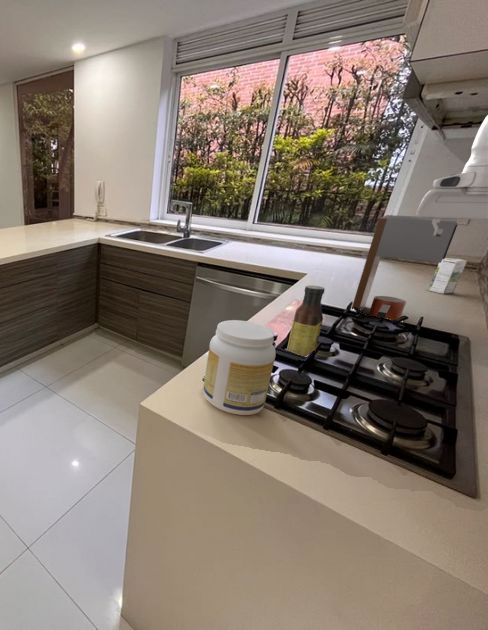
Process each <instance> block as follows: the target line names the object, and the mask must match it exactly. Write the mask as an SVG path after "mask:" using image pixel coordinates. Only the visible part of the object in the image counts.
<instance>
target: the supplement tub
mask: <svg viewBox="0 0 488 630" xmlns="http://www.w3.org/2000/svg"><path fill="white" fill-rule="evenodd" d="M274 338H275V332H274V330H272V329H271V328H270V327H268V326H265V325H264V324H260V323H257V322H253V321H249V320H248V321H247V320H241V319H239V320H238V319H230V320H229V319H228V320H224V321H220V322H219V323H218V324H217V327H216V330H215V335H214V336H212V338H211V339H210V342H209V347H208V354H207V361H206V367H205V375H204V381H203V388H202V389H203V395H204V397H205V399H206V400H207V402H209V403H210V404H211V405H212V406H213V407H215V408H217V409H219V410H221V411H223V412H225V413H229V414H233V415H239V416H250V415H255V414H257V413H259V412H261V411H262V410H263V409H264V406H265V404H266V399H267V395H268V391H269V387H270V382H271V377H272V373H273V368H274V365H275V360H276V357H277V356H276V353H277V352H276V348H275V346H274V345H273V344H274V342H275V339H274Z"/></svg>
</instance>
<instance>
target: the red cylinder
mask: <svg viewBox="0 0 488 630" xmlns="http://www.w3.org/2000/svg"><path fill="white" fill-rule="evenodd" d="M406 305H407V301H406V300H404V299H401V298H398V297H395V296H388V295H376V296H373V299H372V302H371V306H370V309H369V311H368V316H369V315H372V316H377V317H378V318H380V317H383V318H384V319H385V318H388V319H391V320H396V319H398V318H400V317H401V318H402V316H403V313H404V310H405V307H406ZM401 318H400V319H401Z"/></svg>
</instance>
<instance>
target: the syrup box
mask: <svg viewBox="0 0 488 630" xmlns="http://www.w3.org/2000/svg"><path fill="white" fill-rule="evenodd" d="M467 263H468V260H466V259H461V258H458V257H457V258H456V257H445V259H442V262H441V263H438V265H437V267H436V269H435V272H434V274H433V277H432V279H431V282H430V284H429V286H428V288H427V290H428V291H429V292H433V293H438V294H442V295H445V294H446V295H448V294H453V293H454V291H455V290H456V287H457V285H458V283H459V280H460V279H461V277H462V274H463V271H464V269H465V267H466V264H467Z"/></svg>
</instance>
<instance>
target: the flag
mask: <svg viewBox="0 0 488 630" xmlns="http://www.w3.org/2000/svg"><path fill="white" fill-rule="evenodd" d="M432 221H433V218H421V217H418V216H417V215H396V214H395V215H394V214H386V215H384V216H381V217H379V218H378V220H377V222H376V226H375V230H374V233H373V236H372V240H371V244H370V246H369V249H368V253H367V255H366V259H365V263H364V266H363V270H362V273H361V276H360V279H359V282H358V286H357V289H356V293H355V296H354V299H353V302H352V305H351V309H353V308H354V307H357V308H359V309H361V310H362V311H363V310H364V309H365V308H366V305H367V303H368V299H369V296H370V292H371V290H372V286H373V284H374V280H375V276H376V274H377V270H378V267H379V264H380V261H381V258H389V259H397V260H399V259H400V260H410V261H419V262H429V263H430V262H431V263H438V264H439V263H441V262H442V259H445V258H446V256H447V255H448V254H447V253H448V251H449V248H450V246H451V243H452V241H453V238H454V236H455V234H456V231H457V228H458V225H459V224H458V219H448V218H441V220H440V222H439V223H437V225H438V227H439V229H443V232H442V235H441V237H440V236H433V234H434V232H435V229H434V226H433V224H432Z"/></svg>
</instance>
